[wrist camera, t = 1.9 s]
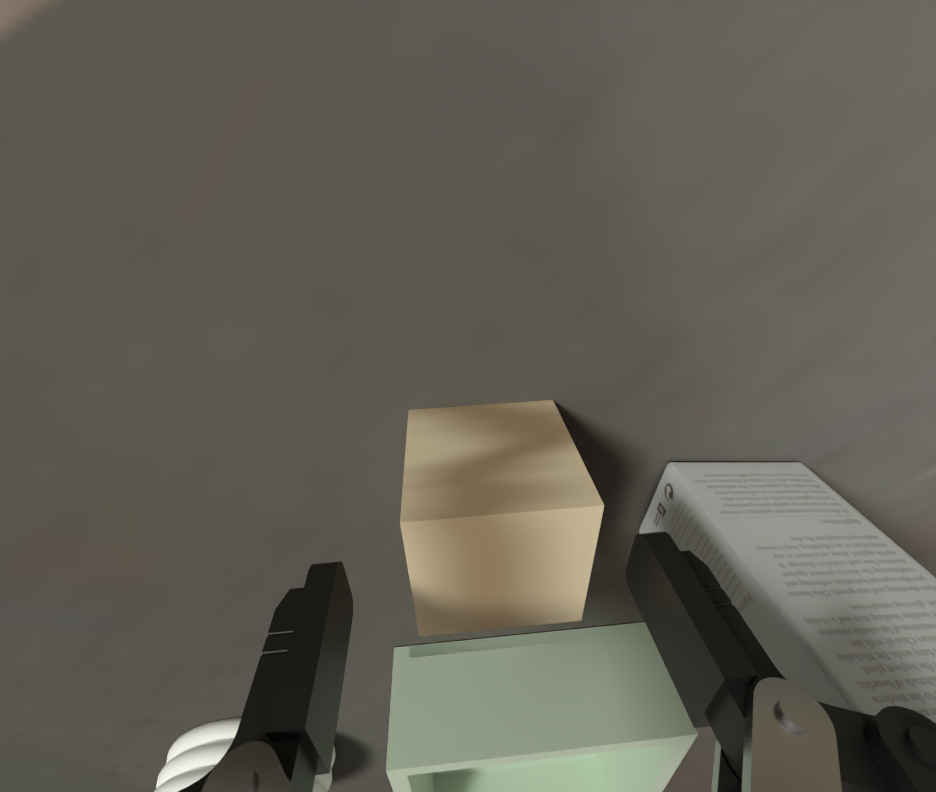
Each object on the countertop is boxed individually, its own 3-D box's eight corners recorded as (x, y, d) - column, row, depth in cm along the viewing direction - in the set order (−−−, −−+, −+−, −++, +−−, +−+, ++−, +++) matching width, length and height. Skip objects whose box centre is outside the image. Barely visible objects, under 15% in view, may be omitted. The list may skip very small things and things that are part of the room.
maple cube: (552, 398, 14) (604, 505, 10) (543, 501, 17) (581, 620, 13) (408, 408, 14) (399, 522, 10) (421, 511, 17) (419, 636, 12)
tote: (646, 621, 22) (698, 734, 18) (601, 751, 32) (628, 845, 27) (394, 647, 22) (385, 770, 17) (423, 772, 31) (422, 872, 27)
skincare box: (634, 532, 18) (891, 1015, 8) (665, 457, 16) (1070, 992, 6) (759, 530, 19) (1140, 975, 9) (805, 458, 17) (1383, 941, 7)
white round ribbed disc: (257, 694, 23) (233, 775, 20) (367, 746, 28) (360, 818, 25) (136, 746, 26) (98, 826, 23) (258, 786, 30) (240, 856, 27)
